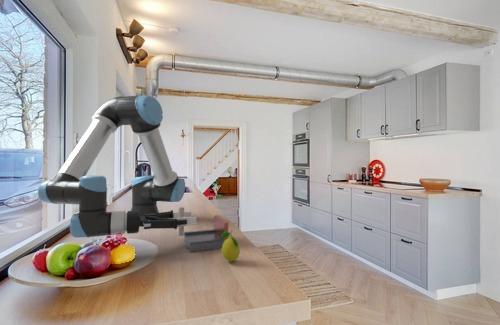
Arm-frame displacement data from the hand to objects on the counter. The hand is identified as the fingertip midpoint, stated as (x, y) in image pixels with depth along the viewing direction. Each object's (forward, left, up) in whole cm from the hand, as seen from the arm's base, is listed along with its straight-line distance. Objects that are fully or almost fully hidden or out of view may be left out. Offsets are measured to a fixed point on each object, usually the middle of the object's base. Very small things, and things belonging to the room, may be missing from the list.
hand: (193, 217), depth 96 cm
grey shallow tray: (0, +4, -10) cm, 11 cm away
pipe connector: (0, -4, -6) cm, 8 cm away
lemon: (+20, +8, -10) cm, 24 cm away
